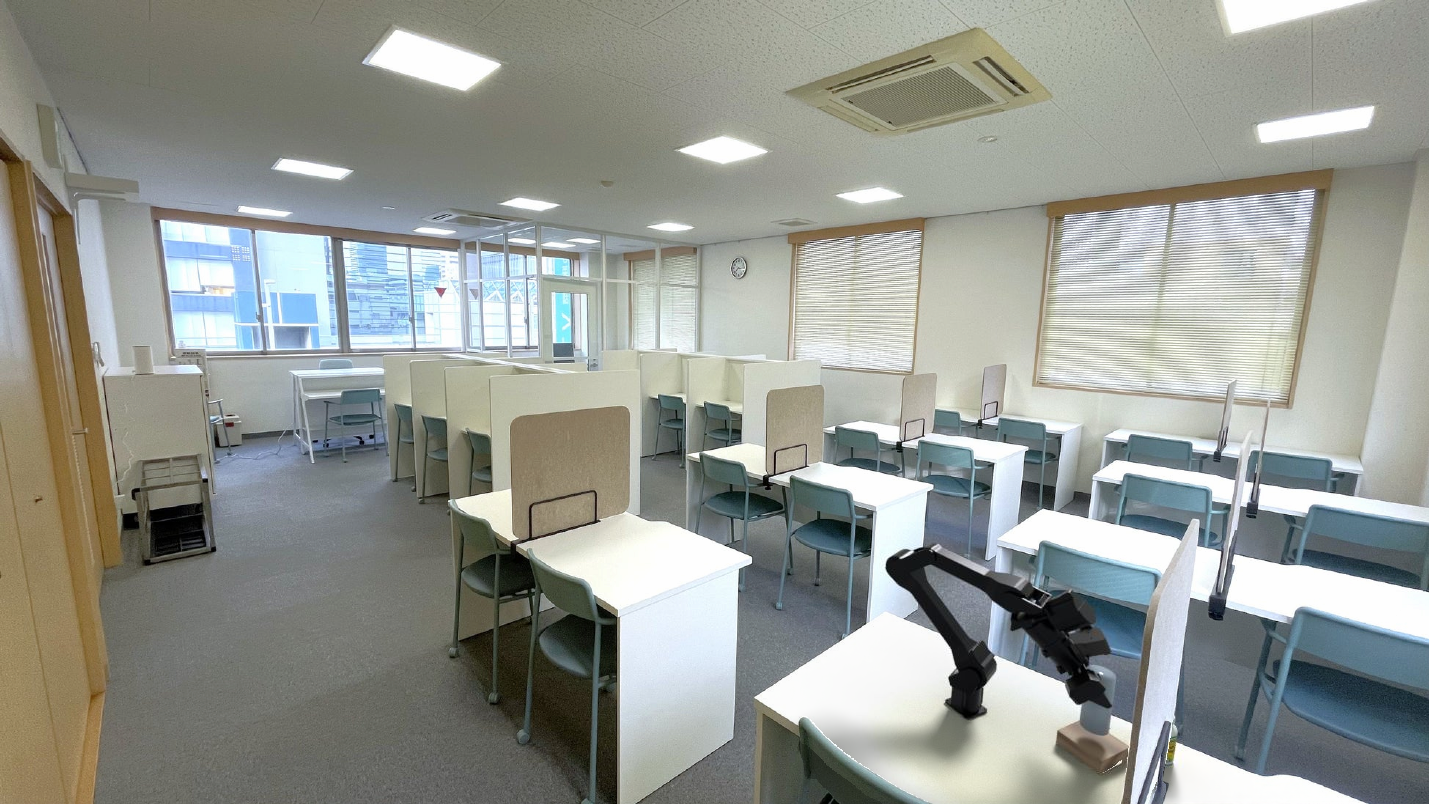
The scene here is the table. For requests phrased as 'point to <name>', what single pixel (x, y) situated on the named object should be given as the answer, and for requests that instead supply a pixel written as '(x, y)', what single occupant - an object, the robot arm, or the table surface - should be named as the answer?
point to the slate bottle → (1094, 714)
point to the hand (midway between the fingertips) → (1105, 698)
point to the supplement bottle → (1172, 744)
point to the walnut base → (1092, 747)
